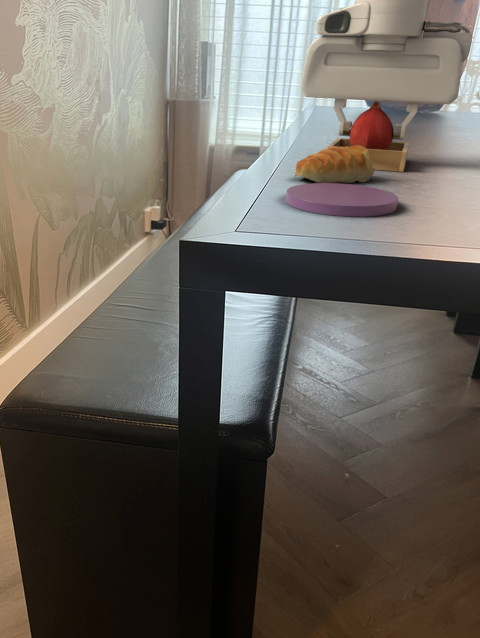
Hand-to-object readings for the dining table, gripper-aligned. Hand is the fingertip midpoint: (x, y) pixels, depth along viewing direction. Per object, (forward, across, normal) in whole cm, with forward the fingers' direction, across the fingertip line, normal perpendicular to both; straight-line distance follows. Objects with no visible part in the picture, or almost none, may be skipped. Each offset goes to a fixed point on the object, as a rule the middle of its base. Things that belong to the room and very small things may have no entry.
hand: (370, 137), depth 83 cm
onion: (+4, 0, 0) cm, 4 cm away
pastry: (+4, +3, +15) cm, 15 cm away
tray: (+3, 0, 0) cm, 3 cm away
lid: (+4, 0, +28) cm, 28 cm away
